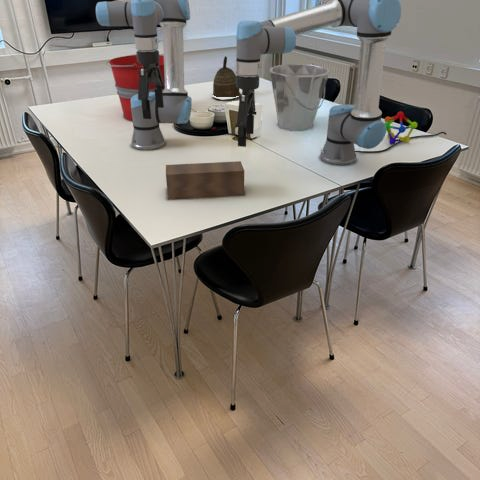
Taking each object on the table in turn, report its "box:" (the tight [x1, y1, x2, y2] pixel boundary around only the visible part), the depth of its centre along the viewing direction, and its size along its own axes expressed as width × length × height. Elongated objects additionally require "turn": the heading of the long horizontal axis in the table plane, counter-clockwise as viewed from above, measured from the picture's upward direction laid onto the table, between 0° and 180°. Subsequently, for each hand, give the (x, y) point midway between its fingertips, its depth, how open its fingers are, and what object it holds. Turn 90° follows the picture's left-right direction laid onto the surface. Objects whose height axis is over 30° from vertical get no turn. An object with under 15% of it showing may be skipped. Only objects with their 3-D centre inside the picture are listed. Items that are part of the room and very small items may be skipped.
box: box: [165, 160, 245, 201], centre depth 162 cm, size 28×9×10 cm, turn 98°
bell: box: [212, 56, 242, 97], centre depth 278 cm, size 19×26×20 cm
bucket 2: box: [269, 63, 330, 131], centre depth 226 cm, size 30×30×28 cm
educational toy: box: [384, 110, 418, 145], centre depth 207 cm, size 16×13×15 cm
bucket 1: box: [105, 53, 165, 122], centre depth 239 cm, size 35×35×30 cm
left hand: (153, 112), depth 160 cm, fingers open, 13 cm apart
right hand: (245, 139), depth 152 cm, fingers open, 13 cm apart
